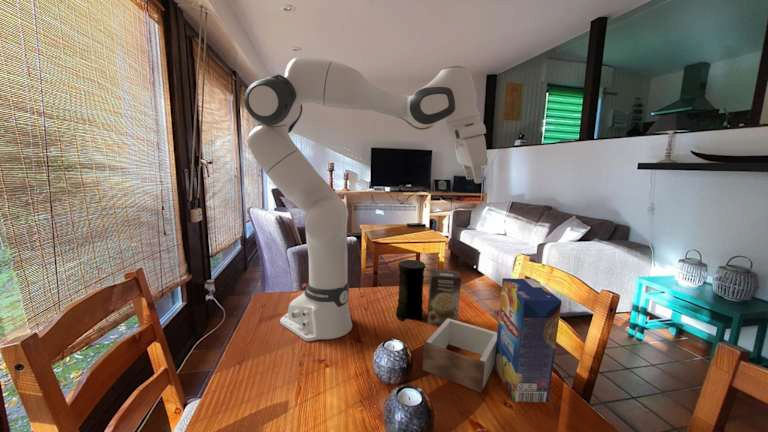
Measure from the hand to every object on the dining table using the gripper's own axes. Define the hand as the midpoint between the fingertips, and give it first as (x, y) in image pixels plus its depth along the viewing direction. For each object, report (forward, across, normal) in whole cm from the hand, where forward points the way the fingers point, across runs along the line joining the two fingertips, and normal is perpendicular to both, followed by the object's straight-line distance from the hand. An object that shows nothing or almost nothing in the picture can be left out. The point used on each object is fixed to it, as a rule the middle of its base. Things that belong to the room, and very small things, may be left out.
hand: (474, 180), depth 92 cm
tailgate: (+40, +24, -18) cm, 50 cm away
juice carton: (+45, +25, -4) cm, 52 cm away
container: (+40, -7, -27) cm, 49 cm away
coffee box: (+42, -4, -17) cm, 46 cm away
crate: (+42, +18, -15) cm, 48 cm away
